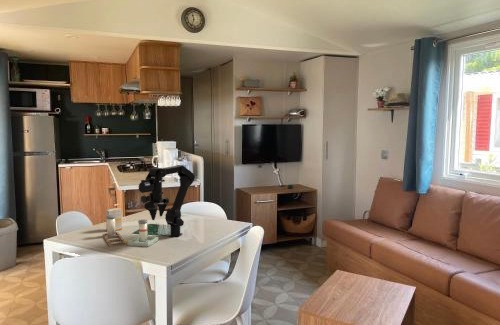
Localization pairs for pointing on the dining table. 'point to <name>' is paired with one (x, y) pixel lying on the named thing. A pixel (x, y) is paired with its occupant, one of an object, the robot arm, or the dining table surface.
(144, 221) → the ball
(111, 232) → the cylinder
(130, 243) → the tray
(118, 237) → the wooden fuse rack
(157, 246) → the dining table surface
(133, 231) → the dining table surface
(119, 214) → the supplement box
